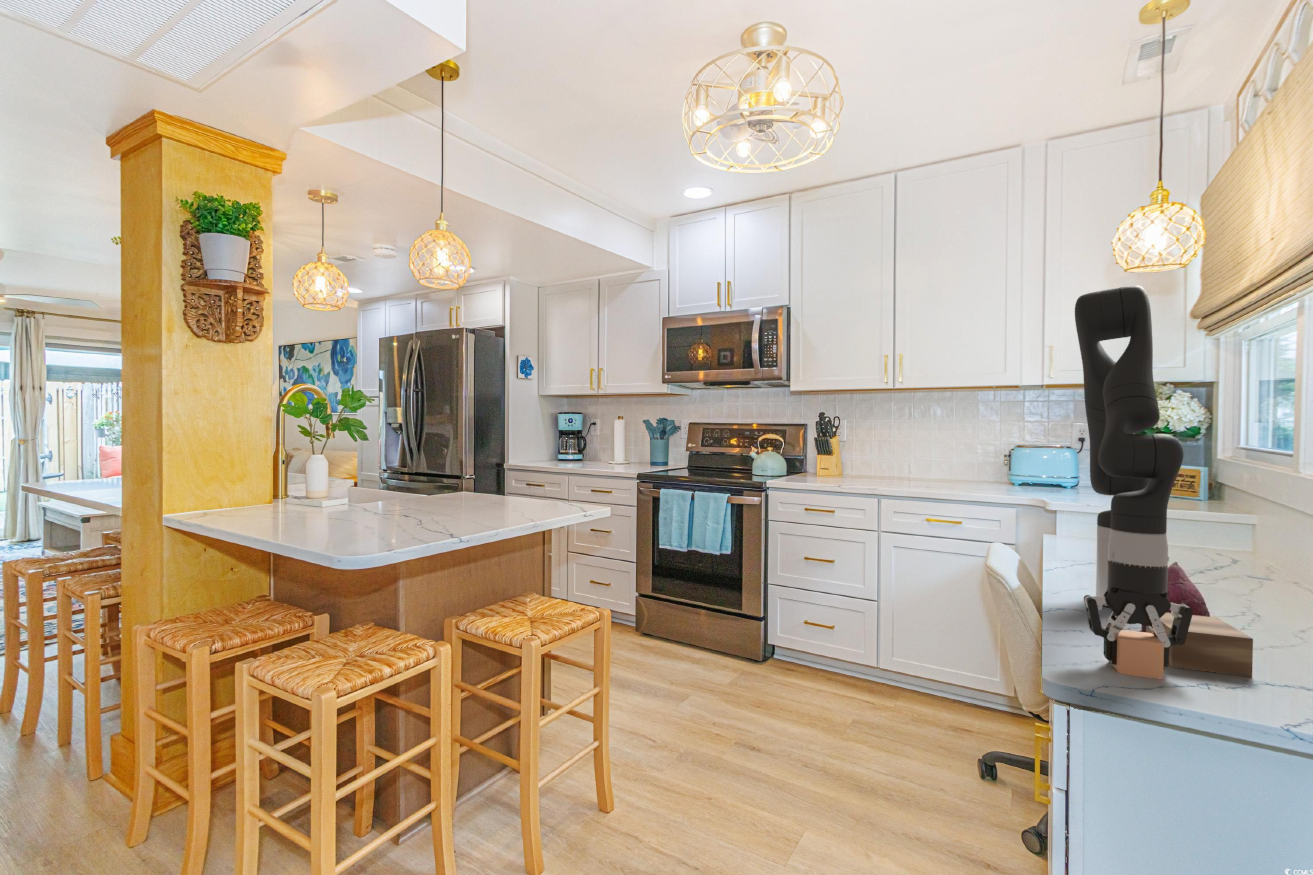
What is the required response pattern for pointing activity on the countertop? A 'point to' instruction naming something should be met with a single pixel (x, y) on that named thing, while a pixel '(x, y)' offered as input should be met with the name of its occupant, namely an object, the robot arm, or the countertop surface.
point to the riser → (1211, 647)
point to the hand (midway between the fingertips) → (1135, 665)
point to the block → (1139, 654)
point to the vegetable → (1183, 592)
